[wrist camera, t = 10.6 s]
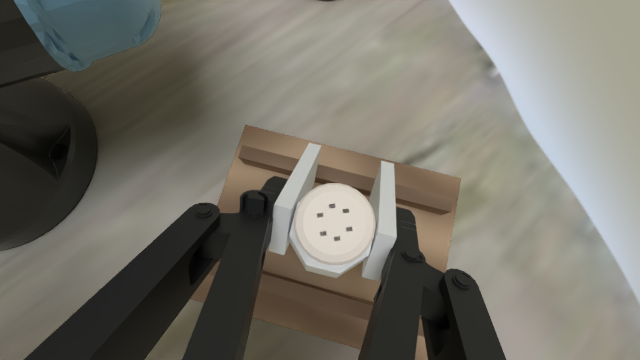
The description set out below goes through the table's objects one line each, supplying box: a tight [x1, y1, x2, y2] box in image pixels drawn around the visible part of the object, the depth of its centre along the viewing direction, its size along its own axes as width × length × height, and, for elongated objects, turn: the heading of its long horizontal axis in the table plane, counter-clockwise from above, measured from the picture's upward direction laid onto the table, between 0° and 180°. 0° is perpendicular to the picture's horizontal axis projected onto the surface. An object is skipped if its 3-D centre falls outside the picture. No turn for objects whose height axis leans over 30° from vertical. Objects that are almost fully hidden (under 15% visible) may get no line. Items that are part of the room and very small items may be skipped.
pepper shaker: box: [289, 183, 376, 278], centre depth 15 cm, size 5×5×11 cm
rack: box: [190, 125, 461, 360], centre depth 22 cm, size 14×18×3 cm
